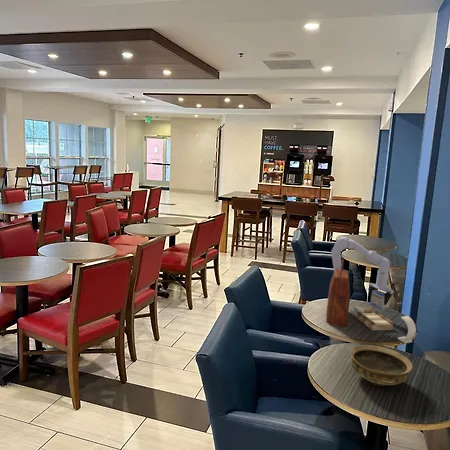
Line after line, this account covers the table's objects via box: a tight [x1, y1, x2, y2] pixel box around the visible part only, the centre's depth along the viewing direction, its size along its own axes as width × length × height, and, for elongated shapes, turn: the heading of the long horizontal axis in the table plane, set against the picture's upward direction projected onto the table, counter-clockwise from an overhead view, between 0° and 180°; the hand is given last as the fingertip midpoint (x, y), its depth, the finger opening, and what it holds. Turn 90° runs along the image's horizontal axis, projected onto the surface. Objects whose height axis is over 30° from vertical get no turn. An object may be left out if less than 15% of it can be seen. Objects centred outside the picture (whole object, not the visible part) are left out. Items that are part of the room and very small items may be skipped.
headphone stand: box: [397, 315, 417, 344], centre depth 205 cm, size 5×6×12 cm
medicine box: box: [370, 289, 388, 310], centre depth 233 cm, size 8×4×9 cm, turn 35°
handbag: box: [325, 258, 351, 328], centre depth 225 cm, size 10×19×35 cm, turn 166°
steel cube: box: [353, 306, 364, 314], centre depth 236 cm, size 4×4×4 cm
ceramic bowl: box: [349, 344, 413, 387], centre depth 165 cm, size 30×24×10 cm
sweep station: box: [349, 309, 394, 331], centre depth 228 cm, size 24×12×4 cm, turn 11°
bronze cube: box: [362, 306, 374, 313], centre depth 237 cm, size 4×4×4 cm
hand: (378, 302), depth 233 cm, fingers closed on medicine box, 7 cm apart
